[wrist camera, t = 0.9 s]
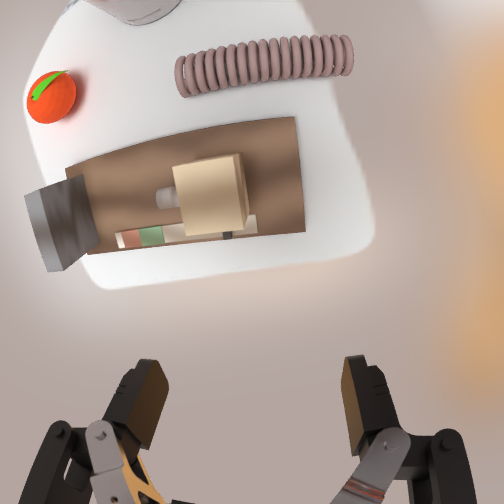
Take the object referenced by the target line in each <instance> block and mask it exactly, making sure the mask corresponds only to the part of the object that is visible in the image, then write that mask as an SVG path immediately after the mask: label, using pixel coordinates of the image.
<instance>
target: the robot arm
mask: <svg viewBox="0 0 504 504" xmlns="http://www.w3.org/2000/svg"><path fill="white" fill-rule="evenodd" d="M84 1H86V2H88V3H90V4H92V5H94V6H96V7H98V8H100V9H102V10H104V11H105V12H107V13H109V14H111V15H112V16H114V17H116V18H118V19H119V20H121V21H123V22H125V23H127V24H130V25H144V24H147V23H151V22H153V21H156V20H158V19H160V18H161V17H163V16H165V15H166V14H168V13H169V12H170V11H171V10H173V9H174V8H175V6H176V5H177V4H178V3H179V2H180V0H84ZM168 391H169V385H168V381H167V378H166V376H165V374H164V372H163V370H162V368H161V366H160V364H159V362H158V361H157V360H151V359H140V360H139V362H138V363H137V366H136V368H135V369H130V370H129V371H128V372H127V373H126V374H125V375H124V376H123V378H122V380H121V382H120V384H119V387H118V388H117V390H116V393H115V394H114V396H113V398H112V400H111V402H110V404H109V406H108V408H107V410H106V412H105V415H104V417H103V418H102V420H98V421H95V422H93V423H91V424H90V425H89V426H88V427H87V428H72V427H71V426H70V425H69V424H68V423H67V422H65V421H61V420H60V421H56V422H54V423H53V424H52V425H51V426H50V428H49V430H48V432H47V434H46V436H45V438H44V440H43V443H42V445H41V447H40V449H39V452H38V454H37V456H36V459H35V461H34V463H33V466H32V468H31V471H30V473H29V476H28V478H27V481H26V484H25V486H24V489H23V492H22V495H21V497H20V500H19V503H18V504H89V502H90V498H91V495H92V491H94V494H95V497H96V500H97V503H98V504H166V503H165V501H164V500H163V498H162V497H161V495H160V494H159V493H158V492H157V490H156V489H155V488H154V486H153V484H152V482H151V480H150V478H149V476H148V474H147V471H146V469H145V467H144V465H143V462H142V460H141V458H140V455H139V454H138V452H139V449H140V448H142V449H146V450H149V448H150V445H151V442H152V438H153V436H154V433H155V430H156V427H157V424H158V421H159V418H160V415H161V412H162V409H163V406H164V403H165V401H166V398H167V395H168ZM341 391H342V397H343V403H344V407H345V414H346V420H347V426H348V432H349V439H350V446H351V453H352V456H357V455H359V457H360V463H359V465H358V466H357V468H356V469H355V471H354V472H353V474H352V475H351V477H350V478H349V479H348V481H347V482H346V484H345V485H344V486H343V487H342V489H341V490H340V492H339V493H338V494H337V495H336V496H335V498H334V499H333V500H332V502H331V503H330V504H381V503H382V501H383V499H384V495H385V493H386V491H387V489H388V488H389V486H390V484H391V483H392V481H393V480H407V484H408V492H409V502H410V504H477V500H476V494H475V489H474V484H473V479H472V474H471V470H470V465H469V461H468V457H467V454H466V450H465V446H464V443H463V439H462V437H461V435H460V434H459V433H458V432H457V431H456V430H453V429H443V430H440V431H439V432H437V433H436V434H435V435H434V436H415V435H411V434H409V433H407V432H406V431H404V430H403V429H402V427H401V426H400V424H399V421H398V418H397V414H396V411H395V407H394V404H393V402H392V398H391V395H390V391H389V388H388V386H387V382H386V379H385V376H384V374H383V372H382V371H381V370H380V369H379V368H378V367H377V366H375V365H374V366H367V363H366V360H365V357H364V355H356V356H348V357H345V361H344V367H343V373H342V378H341ZM70 458H71V459H72V461H71V464H70V467H69V469H68V472H67V475H66V478H65V480H64V472H65V470H66V467H67V464H68V462H69V459H70ZM171 504H194V503H188V502H182V501H177V500H172V502H171Z"/></svg>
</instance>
